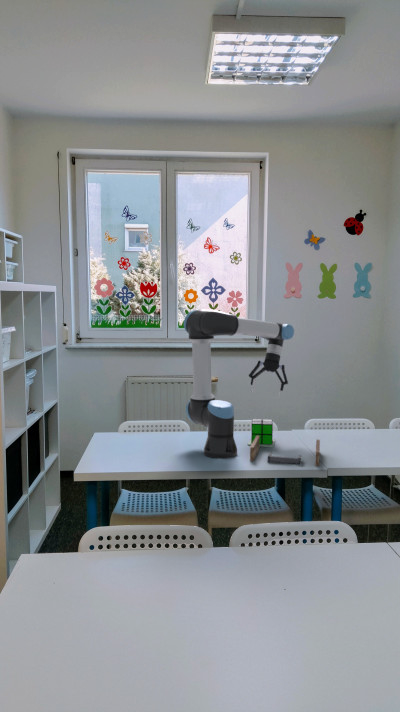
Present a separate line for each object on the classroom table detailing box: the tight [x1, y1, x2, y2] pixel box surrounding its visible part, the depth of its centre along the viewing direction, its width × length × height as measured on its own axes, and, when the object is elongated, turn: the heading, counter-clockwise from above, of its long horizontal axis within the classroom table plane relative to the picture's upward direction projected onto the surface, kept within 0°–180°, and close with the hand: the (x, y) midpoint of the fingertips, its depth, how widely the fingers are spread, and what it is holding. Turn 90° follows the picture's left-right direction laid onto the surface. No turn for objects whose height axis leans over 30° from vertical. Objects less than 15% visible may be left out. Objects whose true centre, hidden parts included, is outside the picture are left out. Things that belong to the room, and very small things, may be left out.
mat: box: [247, 438, 276, 448], centre depth 244 cm, size 12×12×1 cm
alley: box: [249, 435, 321, 467], centre depth 222 cm, size 29×20×6 cm
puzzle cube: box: [250, 418, 274, 445], centre depth 243 cm, size 10×10×10 cm
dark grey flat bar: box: [266, 452, 302, 466], centre depth 215 cm, size 14×6×2 cm, turn 76°
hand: (265, 394), depth 254 cm, fingers open, 13 cm apart
